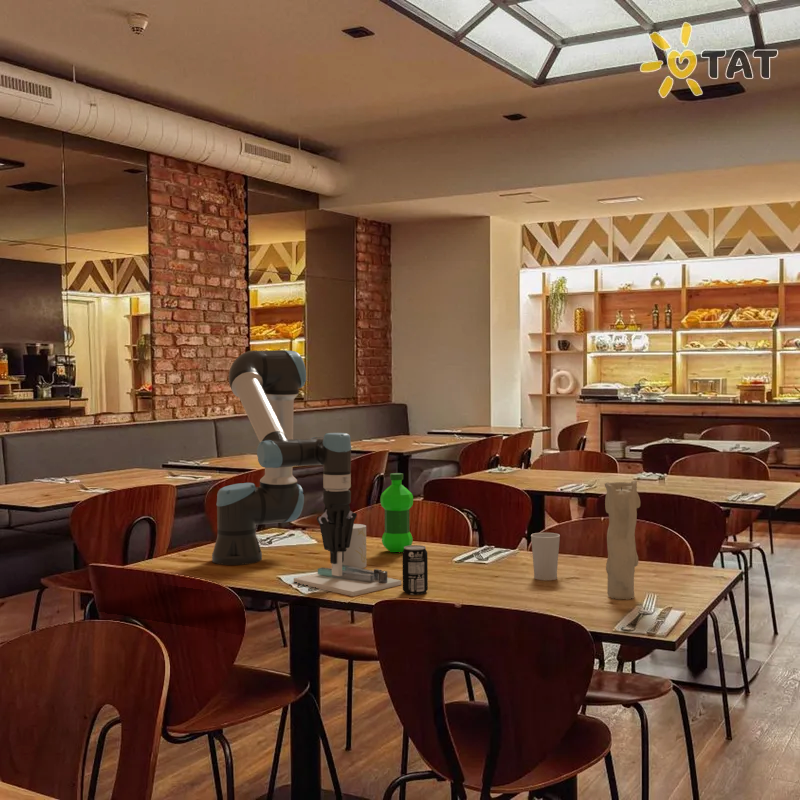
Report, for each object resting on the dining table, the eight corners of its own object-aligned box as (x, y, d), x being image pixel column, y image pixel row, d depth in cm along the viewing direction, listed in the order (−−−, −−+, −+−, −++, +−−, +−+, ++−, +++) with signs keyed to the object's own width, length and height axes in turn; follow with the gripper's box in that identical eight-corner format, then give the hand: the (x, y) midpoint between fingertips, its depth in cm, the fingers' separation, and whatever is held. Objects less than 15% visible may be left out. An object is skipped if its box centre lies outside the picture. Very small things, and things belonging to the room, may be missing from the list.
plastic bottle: (381, 548, 320) (381, 472, 319) (414, 548, 319) (413, 472, 318) (379, 554, 309) (379, 475, 309) (413, 554, 309) (412, 475, 308)
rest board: (293, 582, 271) (293, 578, 271) (342, 572, 284) (341, 568, 284) (352, 596, 254) (352, 591, 254) (401, 584, 267) (401, 580, 267)
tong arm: (317, 574, 274) (317, 568, 274) (322, 573, 276) (322, 567, 276) (370, 581, 264) (370, 575, 264) (374, 580, 266) (374, 574, 266)
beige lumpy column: (643, 596, 251) (643, 479, 250) (632, 603, 244) (631, 482, 243) (611, 592, 256) (611, 477, 255) (599, 598, 249) (598, 481, 248)
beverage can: (413, 588, 262) (412, 543, 262) (432, 591, 258) (432, 546, 258) (397, 593, 257) (397, 547, 257) (417, 596, 253) (416, 550, 253)
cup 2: (538, 581, 269) (537, 538, 268) (526, 575, 277) (526, 533, 276) (564, 579, 271) (564, 536, 271) (552, 574, 279) (552, 532, 278)
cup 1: (362, 569, 287) (362, 528, 287) (336, 568, 289) (335, 528, 289) (369, 563, 295) (368, 524, 295) (343, 563, 297) (342, 523, 297)
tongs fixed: (329, 576, 278) (329, 562, 278) (338, 574, 281) (338, 560, 281) (383, 588, 263) (382, 573, 263) (392, 585, 266) (392, 571, 266)
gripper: (328, 492, 261) (328, 580, 262) (363, 488, 270) (363, 573, 271) (310, 490, 266) (310, 576, 267) (345, 486, 276) (345, 569, 277)
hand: (336, 575), depth 269 cm, fingers closed
